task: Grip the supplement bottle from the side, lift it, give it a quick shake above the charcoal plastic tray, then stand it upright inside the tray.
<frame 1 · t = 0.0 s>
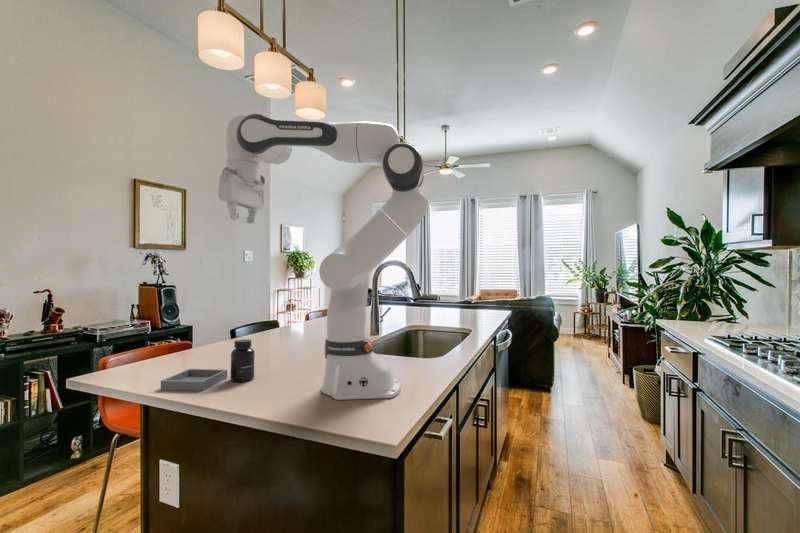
hand: (242, 221, 111), 48 cm above the table, fingers open, 8 cm apart
supplement bottle: (242, 380, 117), on the table
tray: (195, 383, 113), on the table
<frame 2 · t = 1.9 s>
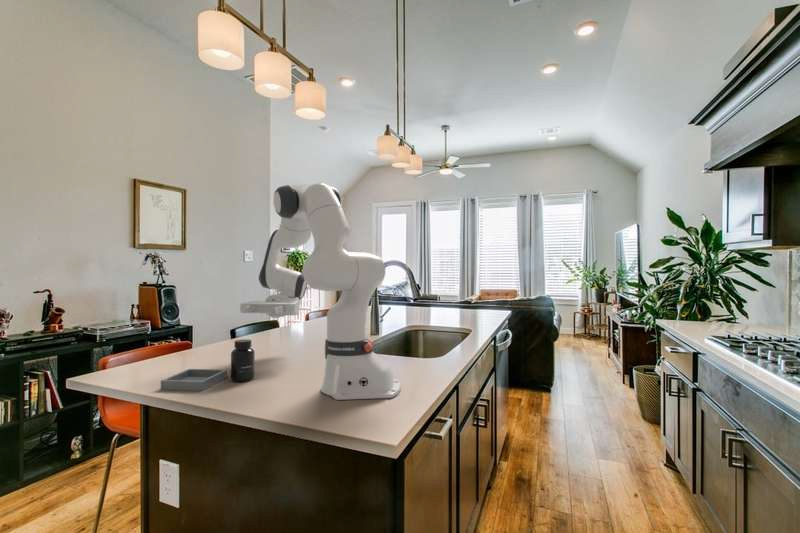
hand: (260, 310, 129), 20 cm above the table, fingers open, 8 cm apart
nothing on the table moved.
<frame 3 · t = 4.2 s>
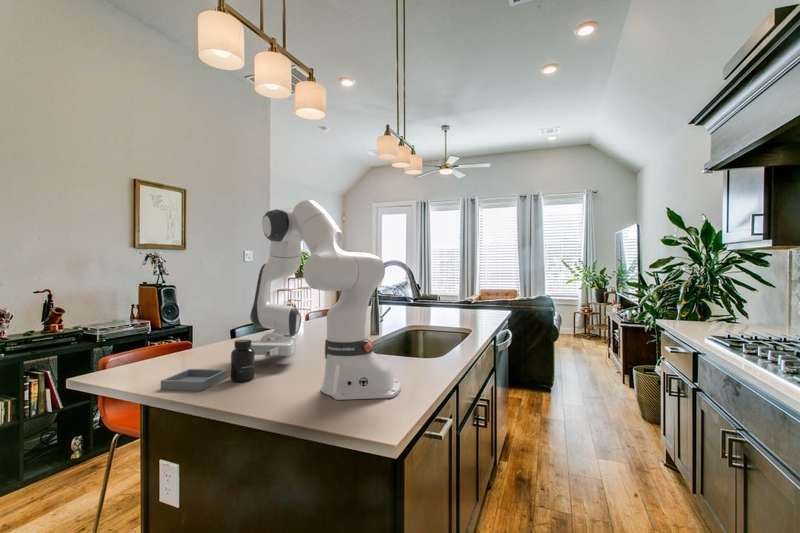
hand: (254, 353, 125), 6 cm above the table, fingers open, 8 cm apart
nothing on the table moved.
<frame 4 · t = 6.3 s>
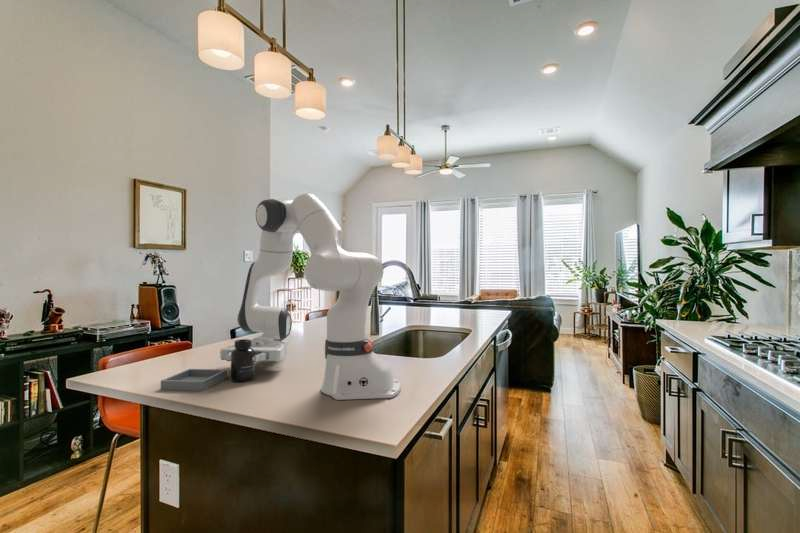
hand: (241, 358, 116), 7 cm above the table, fingers closed on supplement bottle, 7 cm apart
supplement bottle: (242, 380, 117), on the table, touching gripper
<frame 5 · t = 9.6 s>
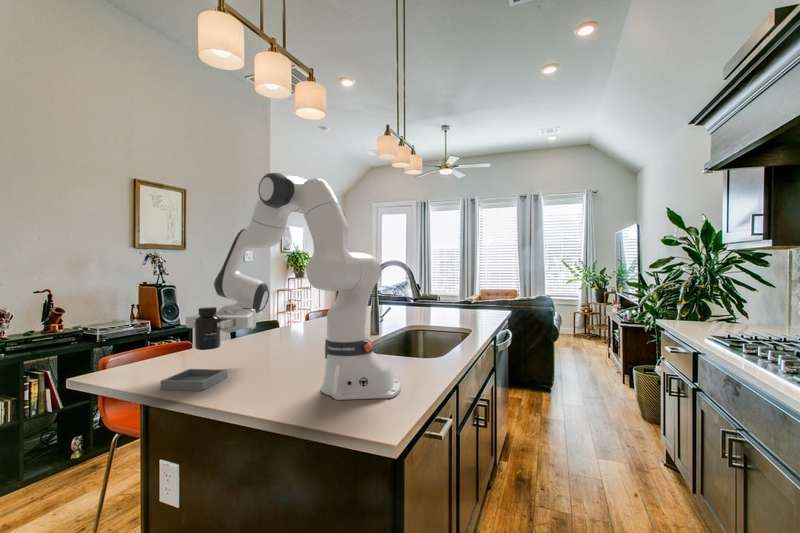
hand: (205, 325, 112), 18 cm above the table, fingers closed on supplement bottle, 7 cm apart
supplement bottle: (208, 348, 113), point 10 cm above the table, touching gripper
when the fingers open (8 cm above the table, at t = 13.0 s): supplement bottle stays where it is, resting on tray.
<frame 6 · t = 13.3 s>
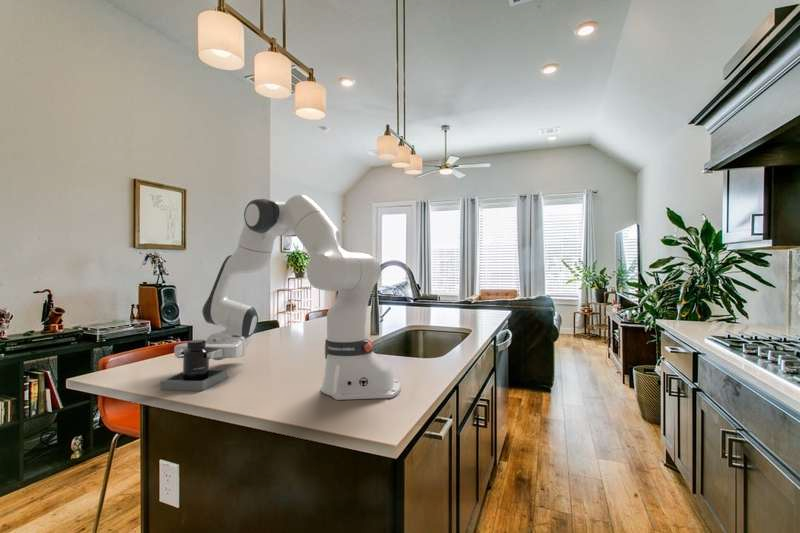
hand: (193, 355, 112), 8 cm above the table, fingers open, 8 cm apart
supplement bottle: (196, 381, 113), resting on tray
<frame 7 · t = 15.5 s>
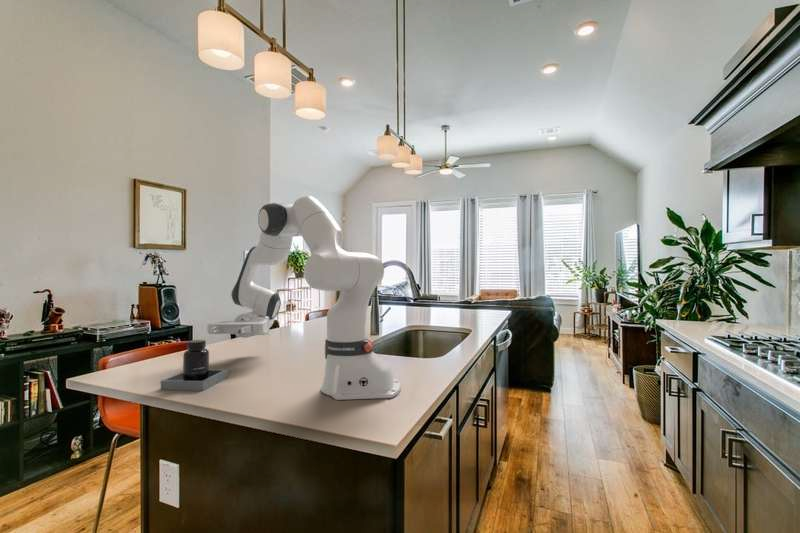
hand: (226, 331, 126), 13 cm above the table, fingers open, 8 cm apart
nothing on the table moved.
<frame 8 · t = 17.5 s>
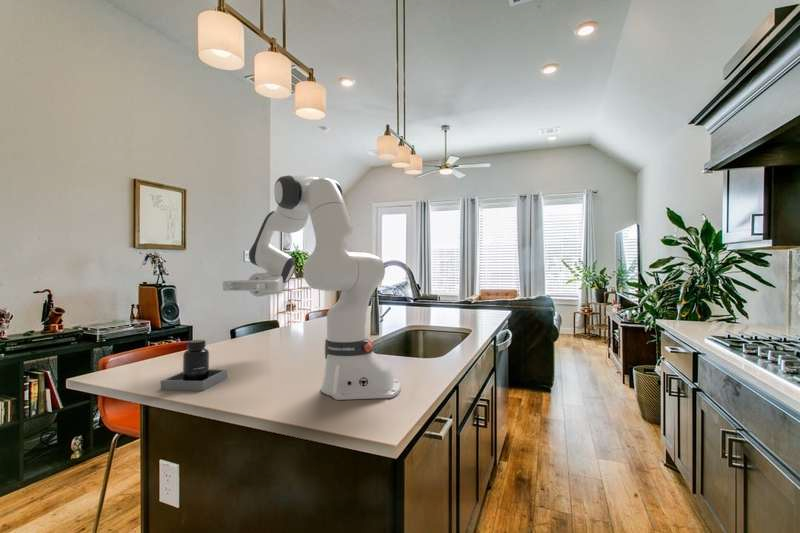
hand: (242, 286, 129), 28 cm above the table, fingers open, 8 cm apart
nothing on the table moved.
at the end: supplement bottle 0.2 cm off-centre on the tray, point 0.4 cm above the tray's base; supplement bottle tilted 0°; the gripper is holding nothing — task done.
